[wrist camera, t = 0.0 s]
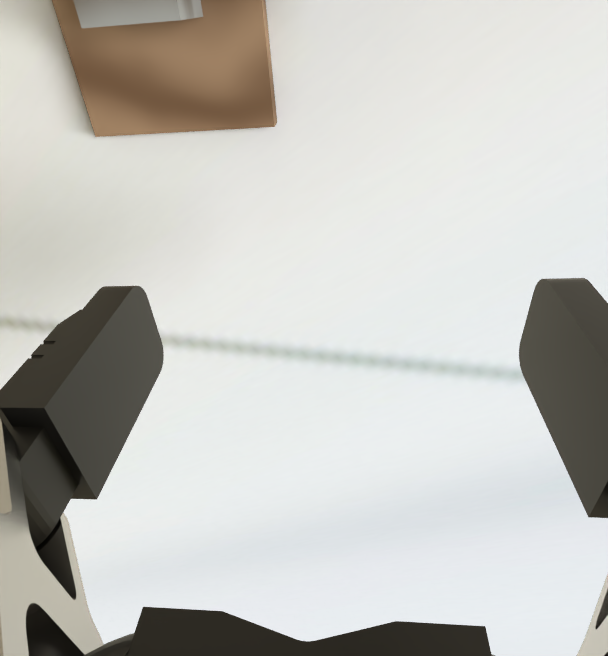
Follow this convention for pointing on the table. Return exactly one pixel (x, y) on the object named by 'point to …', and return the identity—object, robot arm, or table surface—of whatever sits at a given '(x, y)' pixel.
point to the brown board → (170, 64)
